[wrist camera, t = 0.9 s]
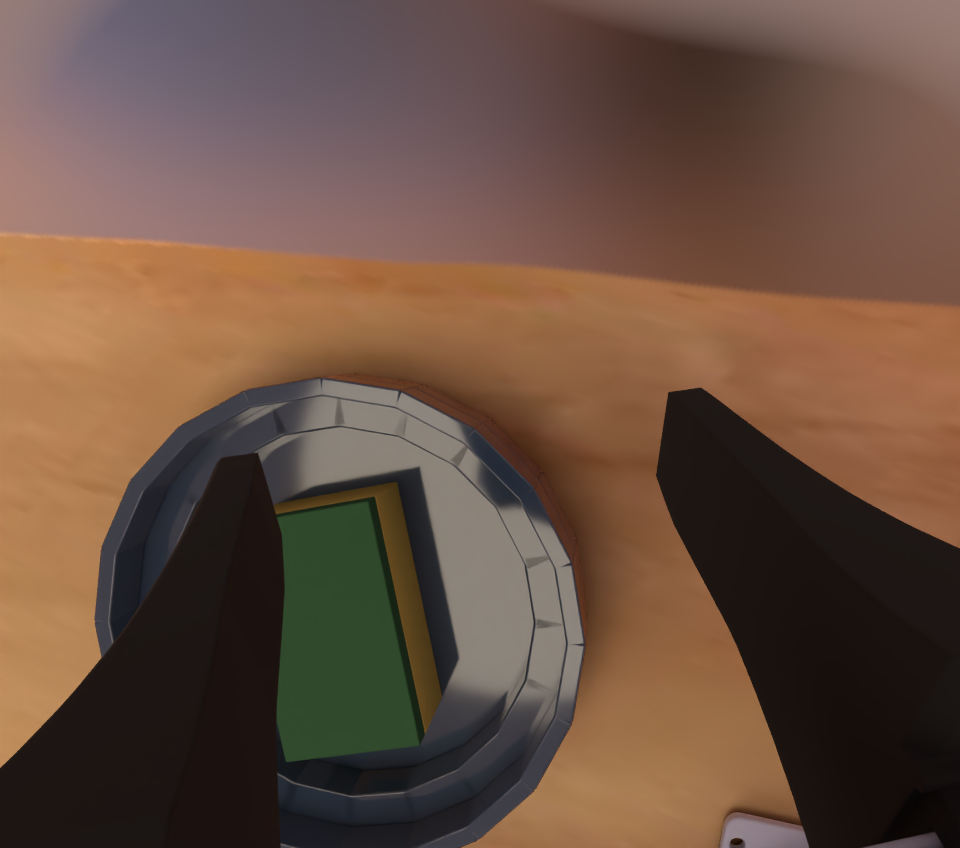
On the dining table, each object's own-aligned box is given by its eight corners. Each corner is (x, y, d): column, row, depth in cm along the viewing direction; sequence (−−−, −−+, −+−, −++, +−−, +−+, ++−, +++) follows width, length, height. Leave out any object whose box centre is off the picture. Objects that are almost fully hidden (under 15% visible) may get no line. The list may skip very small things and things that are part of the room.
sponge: (442, 697, 29) (420, 746, 25) (323, 713, 30) (285, 762, 26) (397, 481, 28) (368, 500, 25) (276, 502, 29) (232, 525, 26)
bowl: (546, 847, 30) (538, 924, 26) (141, 751, 32) (75, 809, 28) (620, 414, 28) (623, 425, 24) (183, 344, 30) (119, 344, 26)
